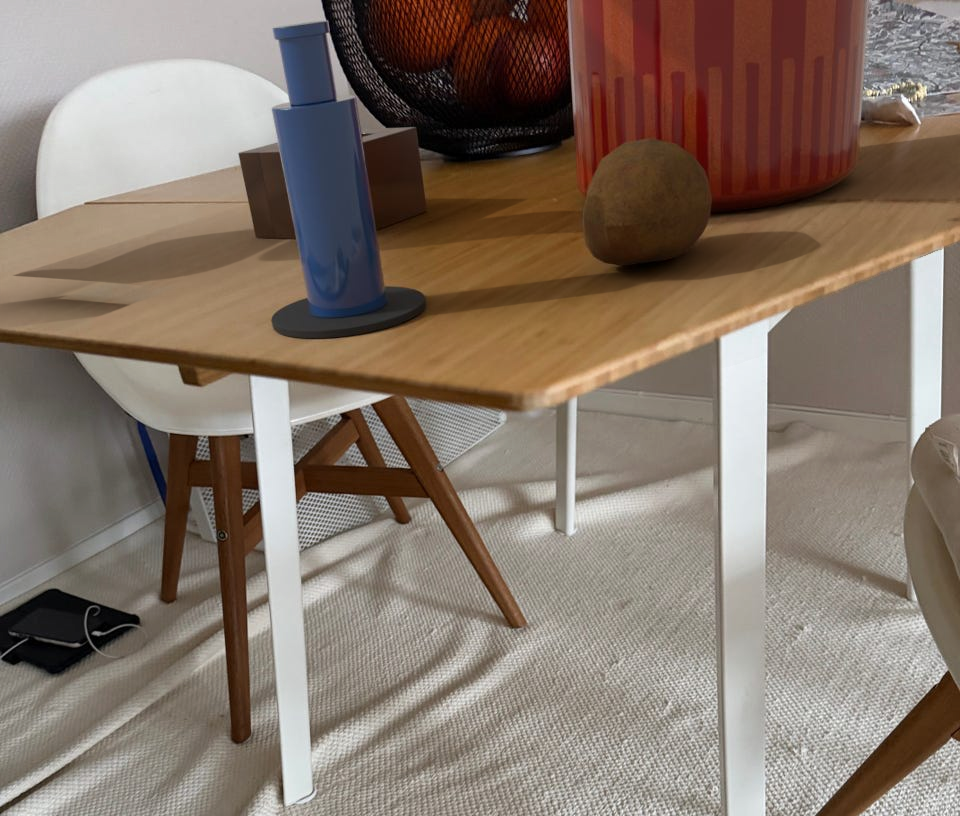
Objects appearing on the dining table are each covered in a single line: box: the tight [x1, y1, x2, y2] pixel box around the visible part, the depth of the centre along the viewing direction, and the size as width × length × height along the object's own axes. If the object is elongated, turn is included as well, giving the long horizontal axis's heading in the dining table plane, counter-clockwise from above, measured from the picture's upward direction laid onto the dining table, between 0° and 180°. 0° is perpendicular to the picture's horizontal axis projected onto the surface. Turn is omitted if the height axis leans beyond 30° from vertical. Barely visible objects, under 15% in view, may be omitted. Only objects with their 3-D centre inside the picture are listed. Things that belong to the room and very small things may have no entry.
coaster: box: [270, 285, 427, 339], centre depth 70 cm, size 10×10×1 cm
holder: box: [237, 126, 428, 240], centre depth 96 cm, size 11×11×7 cm
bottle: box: [271, 19, 387, 318], centre depth 66 cm, size 5×5×16 cm
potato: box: [582, 138, 712, 266], centre depth 71 cm, size 8×12×8 cm, turn 158°
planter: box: [566, 0, 870, 214], centre depth 87 cm, size 23×23×20 cm
